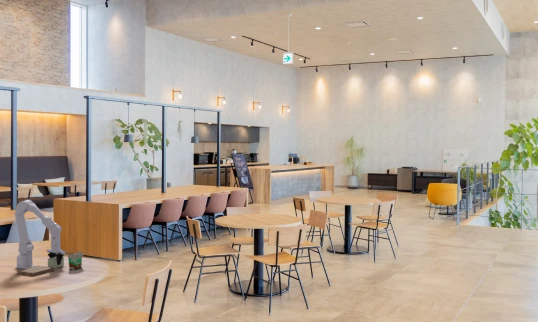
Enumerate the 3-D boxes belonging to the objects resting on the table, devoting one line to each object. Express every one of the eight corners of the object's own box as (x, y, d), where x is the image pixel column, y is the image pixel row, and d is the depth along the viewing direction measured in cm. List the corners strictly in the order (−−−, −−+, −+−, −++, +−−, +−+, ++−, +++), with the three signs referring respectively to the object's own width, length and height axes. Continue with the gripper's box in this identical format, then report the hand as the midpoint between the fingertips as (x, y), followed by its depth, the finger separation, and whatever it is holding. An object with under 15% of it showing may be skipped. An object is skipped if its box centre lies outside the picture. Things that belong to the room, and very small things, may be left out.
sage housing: (47, 267, 344) (47, 258, 344) (60, 264, 353) (59, 255, 353) (52, 268, 342) (52, 259, 342) (65, 265, 351) (64, 256, 351)
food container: (76, 270, 336) (76, 255, 336) (67, 270, 337) (67, 254, 337) (87, 266, 348) (86, 251, 348) (78, 266, 349) (78, 251, 349)
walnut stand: (17, 274, 328) (17, 270, 328) (38, 268, 343) (38, 265, 343) (33, 276, 322) (33, 273, 322) (54, 270, 337) (54, 267, 337)
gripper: (68, 243, 347) (68, 264, 347) (52, 241, 353) (53, 262, 354) (60, 245, 341) (60, 266, 341) (44, 243, 347) (44, 264, 347)
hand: (56, 264), depth 347 cm, fingers closed on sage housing, 5 cm apart
